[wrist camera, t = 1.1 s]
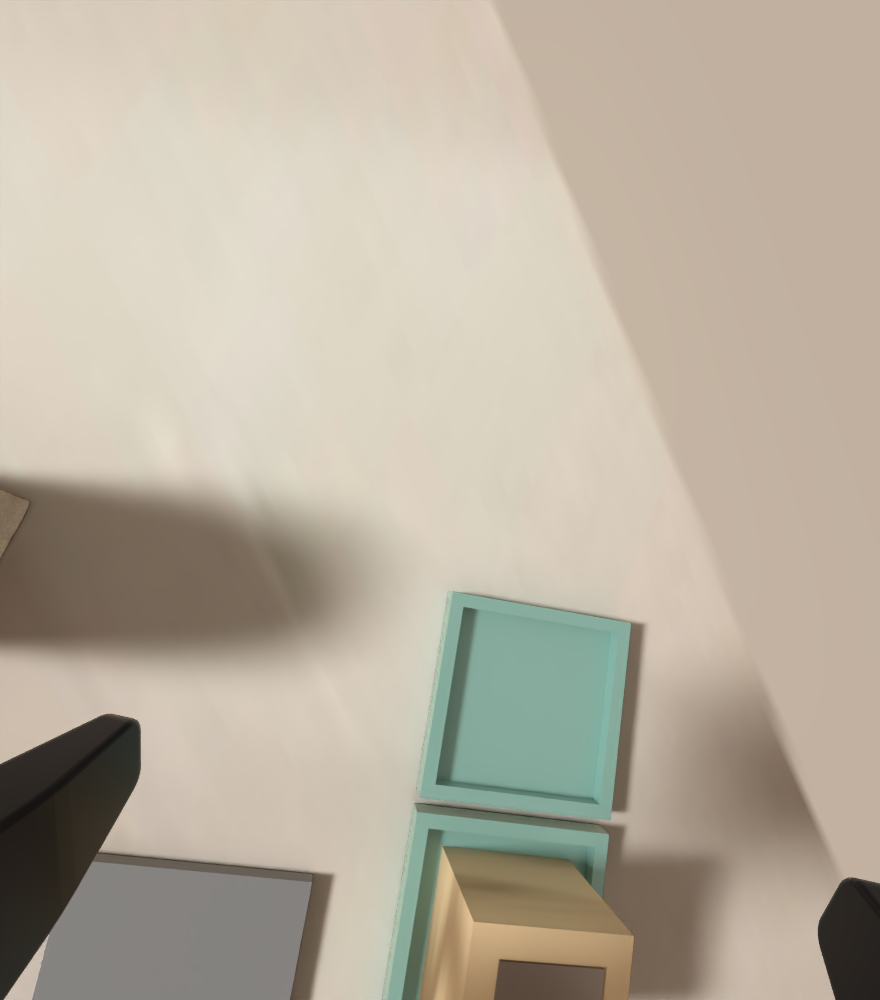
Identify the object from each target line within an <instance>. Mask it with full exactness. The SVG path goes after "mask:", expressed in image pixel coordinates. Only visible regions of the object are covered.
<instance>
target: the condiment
mask: <svg viewBox="0 0 880 1000" xmlns="http://www.w3.org/2000/svg"><path fill="white" fill-rule="evenodd" d="M29 503H30V502H29V501H27V500H25V499H22V498H20V497H17V496H15V495H12V494H10V493H7V492H5V491H2V490H0V557H1V556H2V554H3V552H4V551H5V549H6V547H7V545H8V543H9V541H10V539H11V537H12V535H13V534H14V533H15V531H16V530H17V528H18V526H19V524H20V522H21V521H22V518H23V517H24V515H25V513H26V511H27V509H28V506H29Z"/></svg>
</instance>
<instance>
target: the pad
mask: <svg viewBox="0 0 880 1000" xmlns="http://www.w3.org/2000/svg"><path fill="white" fill-rule="evenodd" d="M312 879H313V874H308V873H297V872H287V871H276V870H266V869H256V868H245V867H235V866H225V865H214V864H204V863H194V862H183V861H173V860H163V859H152V858H142V857H132V856H121V855H111V854H101V853H97V855H96V857H95V858H94V860H93V862H92V864H91V865H90V867H89V869H88V871H87V872H86V874H85V876H84V878H83V879H82V881H81V883H80V885H79V886H78V888H77V890H76V892H75V893H74V895H73V897H72V898H71V900H70V902H69V903H68V905H67V907H66V908H65V910H64V912H63V913H62V915H61V916H60V918H59V919H58V921H57V922H56V924H55V925H54V927H53V928H52V930H51V932H50V934H49V938H48V941H47V945H46V949H45V953H44V957H43V961H42V964H41V968H40V972H39V976H38V980H37V984H36V987H35V991H34V995H33V999H32V1000H290V997H291V992H292V987H293V981H294V976H295V971H296V965H297V960H298V955H299V950H300V944H301V939H302V934H303V928H304V923H305V918H306V912H307V907H308V902H309V897H310V891H311V886H312Z"/></svg>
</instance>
